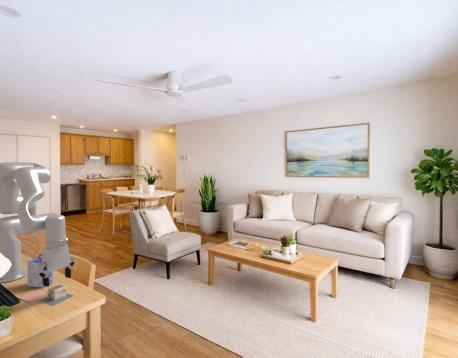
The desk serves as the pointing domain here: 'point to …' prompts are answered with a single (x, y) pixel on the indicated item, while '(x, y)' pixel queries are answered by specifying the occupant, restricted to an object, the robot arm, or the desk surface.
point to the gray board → (54, 302)
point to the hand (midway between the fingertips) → (57, 281)
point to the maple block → (56, 292)
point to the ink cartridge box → (32, 275)
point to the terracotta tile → (32, 296)
